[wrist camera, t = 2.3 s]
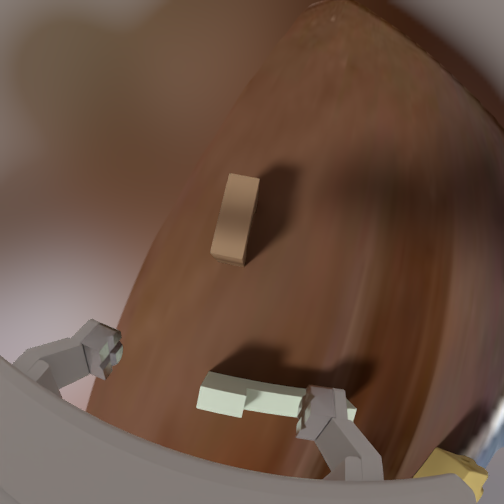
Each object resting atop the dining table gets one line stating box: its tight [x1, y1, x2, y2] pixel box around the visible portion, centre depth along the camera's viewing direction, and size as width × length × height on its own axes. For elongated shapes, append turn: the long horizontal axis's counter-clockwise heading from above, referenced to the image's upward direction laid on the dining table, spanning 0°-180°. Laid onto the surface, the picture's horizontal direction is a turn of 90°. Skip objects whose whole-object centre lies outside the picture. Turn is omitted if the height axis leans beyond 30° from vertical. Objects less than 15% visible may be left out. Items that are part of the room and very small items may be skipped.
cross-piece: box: [210, 173, 260, 267], centre depth 31 cm, size 8×3×7 cm, turn 168°
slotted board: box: [197, 371, 357, 422], centre depth 28 cm, size 2×16×6 cm, turn 78°
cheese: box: [413, 447, 488, 502], centre depth 24 cm, size 10×11×10 cm
